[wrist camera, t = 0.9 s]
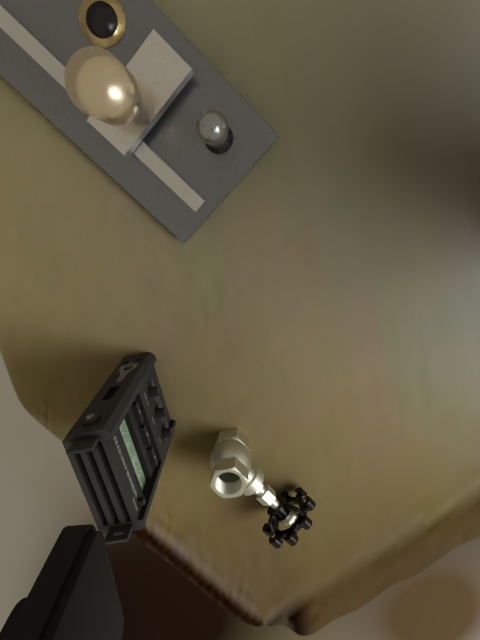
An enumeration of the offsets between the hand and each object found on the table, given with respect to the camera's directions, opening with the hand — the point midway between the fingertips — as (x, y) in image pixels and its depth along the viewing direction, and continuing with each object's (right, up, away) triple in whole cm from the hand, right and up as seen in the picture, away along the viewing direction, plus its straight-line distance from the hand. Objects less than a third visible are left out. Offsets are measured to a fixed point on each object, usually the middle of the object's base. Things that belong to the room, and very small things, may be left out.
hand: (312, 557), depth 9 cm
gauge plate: (-11, +24, +24) cm, 36 cm away
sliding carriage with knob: (-9, +23, +23) cm, 33 cm away
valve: (0, -11, +36) cm, 38 cm away
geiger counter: (-11, -3, +33) cm, 35 cm away
